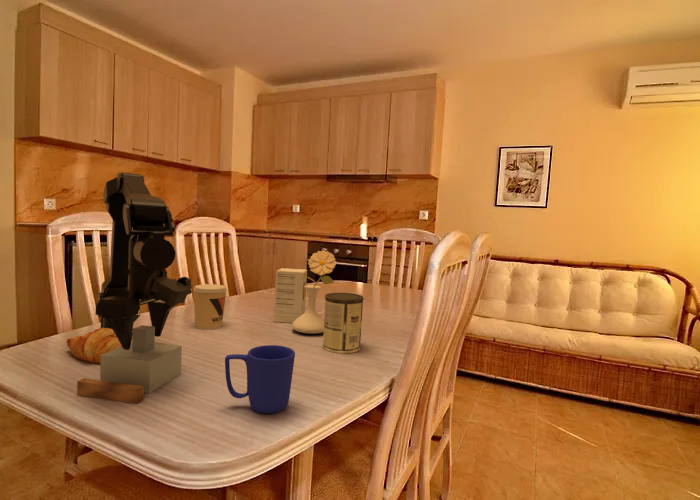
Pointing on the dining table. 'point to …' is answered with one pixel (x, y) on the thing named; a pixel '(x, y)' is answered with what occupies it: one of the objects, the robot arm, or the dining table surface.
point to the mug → (265, 377)
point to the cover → (142, 361)
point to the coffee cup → (209, 305)
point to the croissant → (94, 344)
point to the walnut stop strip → (110, 390)
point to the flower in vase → (315, 293)
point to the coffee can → (342, 322)
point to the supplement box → (289, 294)
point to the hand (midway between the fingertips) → (143, 342)
